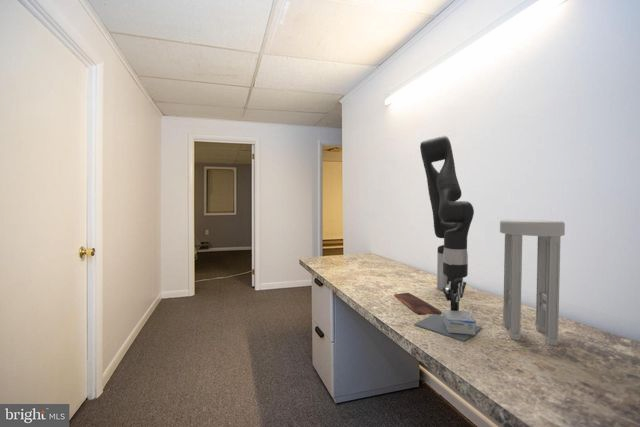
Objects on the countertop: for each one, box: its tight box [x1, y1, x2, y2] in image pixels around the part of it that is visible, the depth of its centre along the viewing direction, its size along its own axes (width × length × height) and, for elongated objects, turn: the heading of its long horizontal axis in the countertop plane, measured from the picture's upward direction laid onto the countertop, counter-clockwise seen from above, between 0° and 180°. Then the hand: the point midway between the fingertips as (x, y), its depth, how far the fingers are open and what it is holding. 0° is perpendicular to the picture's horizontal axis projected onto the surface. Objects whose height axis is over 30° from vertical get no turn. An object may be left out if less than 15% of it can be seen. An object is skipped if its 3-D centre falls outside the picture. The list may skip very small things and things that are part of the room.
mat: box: [414, 314, 483, 343], centre depth 96 cm, size 14×16×1 cm
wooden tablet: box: [393, 292, 443, 316], centre depth 120 cm, size 26×2×10 cm
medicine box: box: [443, 309, 477, 336], centre depth 94 cm, size 8×4×9 cm
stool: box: [499, 219, 566, 346], centre depth 90 cm, size 16×16×35 cm
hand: (454, 312), depth 99 cm, fingers closed
